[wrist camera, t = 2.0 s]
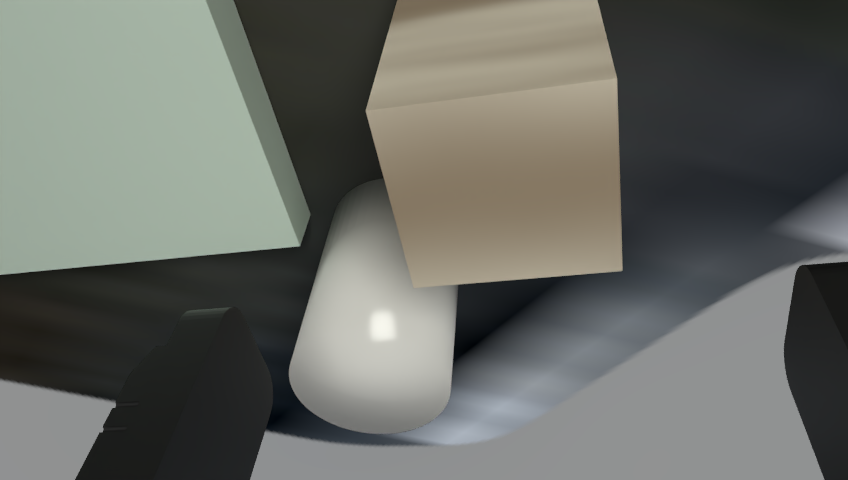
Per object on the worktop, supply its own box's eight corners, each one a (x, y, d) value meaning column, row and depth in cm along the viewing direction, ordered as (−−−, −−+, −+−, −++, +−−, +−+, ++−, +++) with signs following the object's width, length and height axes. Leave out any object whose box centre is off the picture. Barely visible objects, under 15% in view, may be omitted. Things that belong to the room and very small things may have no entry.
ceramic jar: (317, 185, 22) (267, 334, 17) (450, 170, 21) (435, 323, 16) (350, 283, 24) (314, 436, 20) (470, 273, 24) (462, 430, 19)
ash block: (408, -39, 17) (365, 110, 12) (580, -67, 17) (616, 78, 11) (438, 109, 20) (413, 288, 14) (589, 90, 19) (622, 271, 14)
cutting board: (-358, -246, 16) (-426, -236, 15) (100, -370, 14) (64, -370, 13) (-4, 246, 25) (-29, 277, 23) (310, 214, 22) (300, 246, 21)
